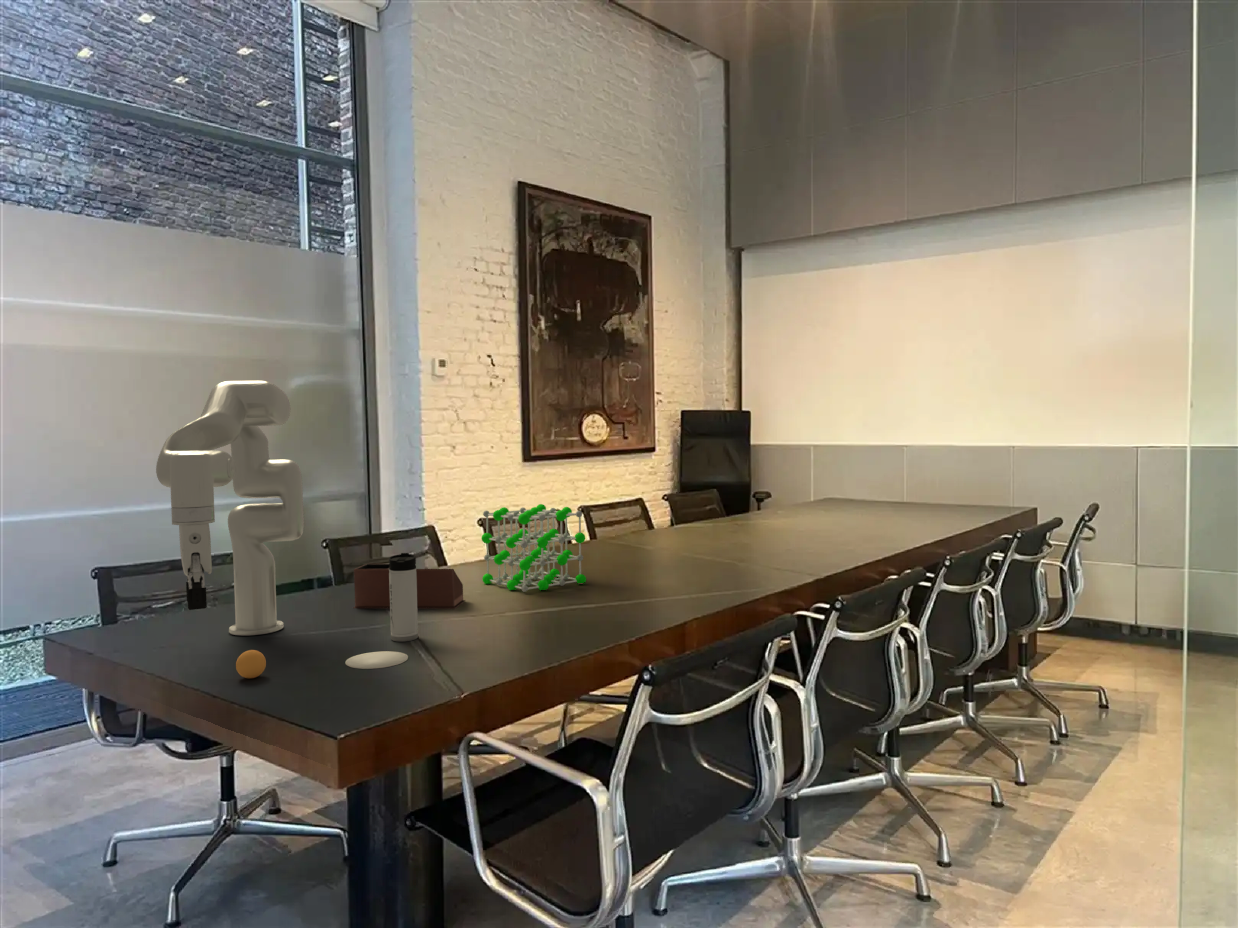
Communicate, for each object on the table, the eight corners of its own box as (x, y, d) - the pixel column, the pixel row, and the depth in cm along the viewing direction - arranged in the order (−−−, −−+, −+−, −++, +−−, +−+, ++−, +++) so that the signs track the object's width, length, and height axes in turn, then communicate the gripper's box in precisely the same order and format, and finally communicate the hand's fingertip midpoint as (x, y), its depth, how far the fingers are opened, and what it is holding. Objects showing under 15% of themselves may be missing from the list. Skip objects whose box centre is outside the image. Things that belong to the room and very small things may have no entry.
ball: (235, 676, 175) (234, 649, 174) (264, 672, 177) (264, 645, 177) (237, 683, 170) (236, 655, 169) (267, 679, 172) (266, 651, 172)
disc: (340, 657, 188) (340, 656, 188) (399, 649, 194) (399, 648, 194) (352, 672, 176) (351, 671, 176) (414, 662, 183) (414, 662, 183)
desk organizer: (366, 601, 250) (365, 563, 249) (465, 601, 247) (464, 562, 247) (352, 609, 239) (351, 569, 239) (455, 609, 237) (454, 569, 236)
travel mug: (420, 634, 207) (418, 552, 207) (415, 641, 201) (412, 556, 200) (394, 635, 207) (392, 552, 206) (388, 642, 201) (385, 557, 200)
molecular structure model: (543, 574, 289) (542, 503, 288) (588, 584, 269) (587, 508, 268) (480, 584, 273) (478, 508, 272) (523, 595, 254) (522, 514, 253)
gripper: (217, 518, 162) (220, 610, 162) (212, 510, 177) (215, 595, 178) (172, 521, 158) (175, 615, 159) (171, 513, 173) (174, 599, 174)
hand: (196, 604), depth 168 cm, fingers open, 7 cm apart
